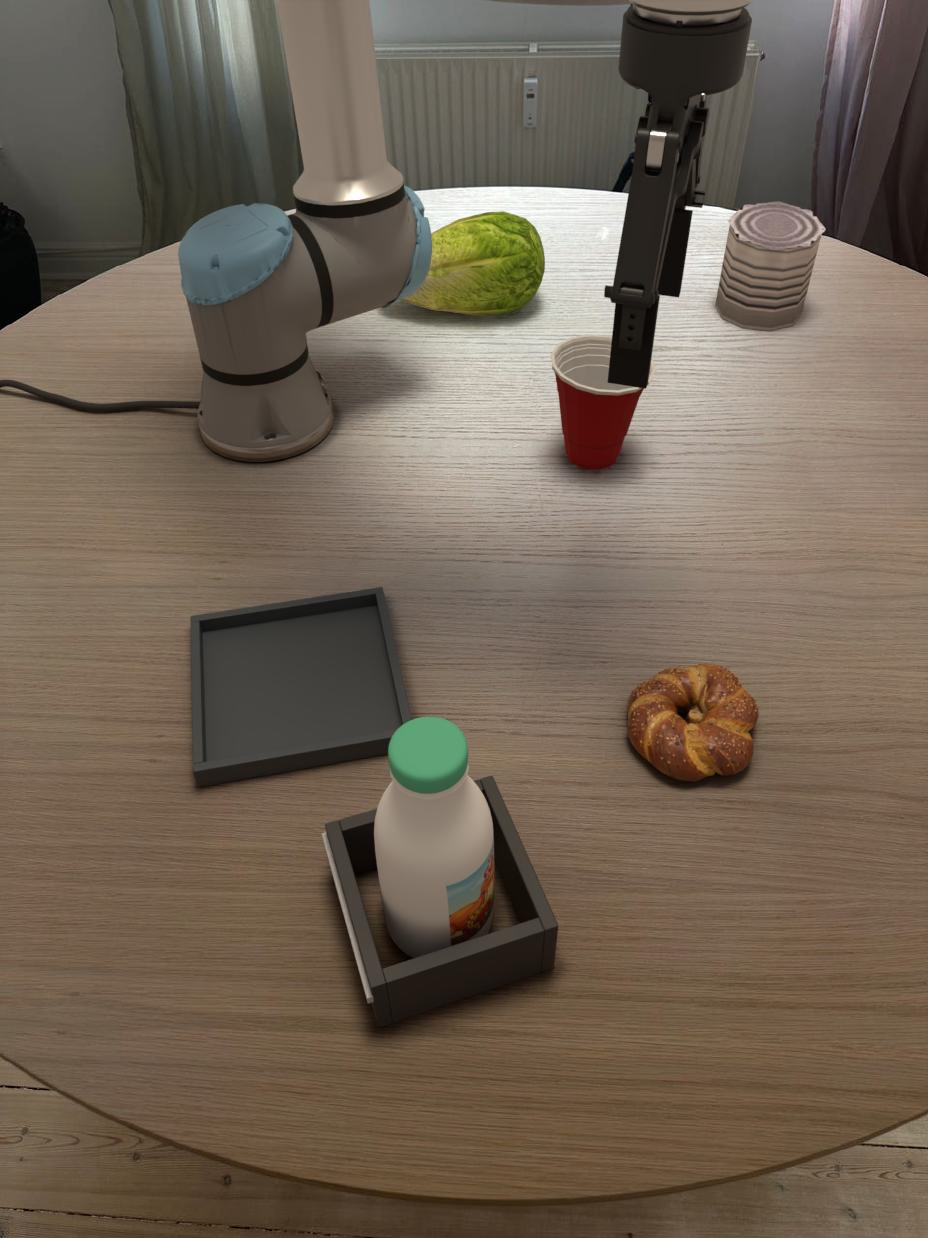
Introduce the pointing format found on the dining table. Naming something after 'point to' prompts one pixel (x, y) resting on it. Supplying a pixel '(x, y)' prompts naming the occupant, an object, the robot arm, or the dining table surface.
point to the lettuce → (483, 266)
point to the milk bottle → (433, 841)
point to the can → (767, 265)
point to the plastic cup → (592, 401)
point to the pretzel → (693, 722)
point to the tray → (294, 685)
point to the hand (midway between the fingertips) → (646, 335)
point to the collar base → (457, 965)
